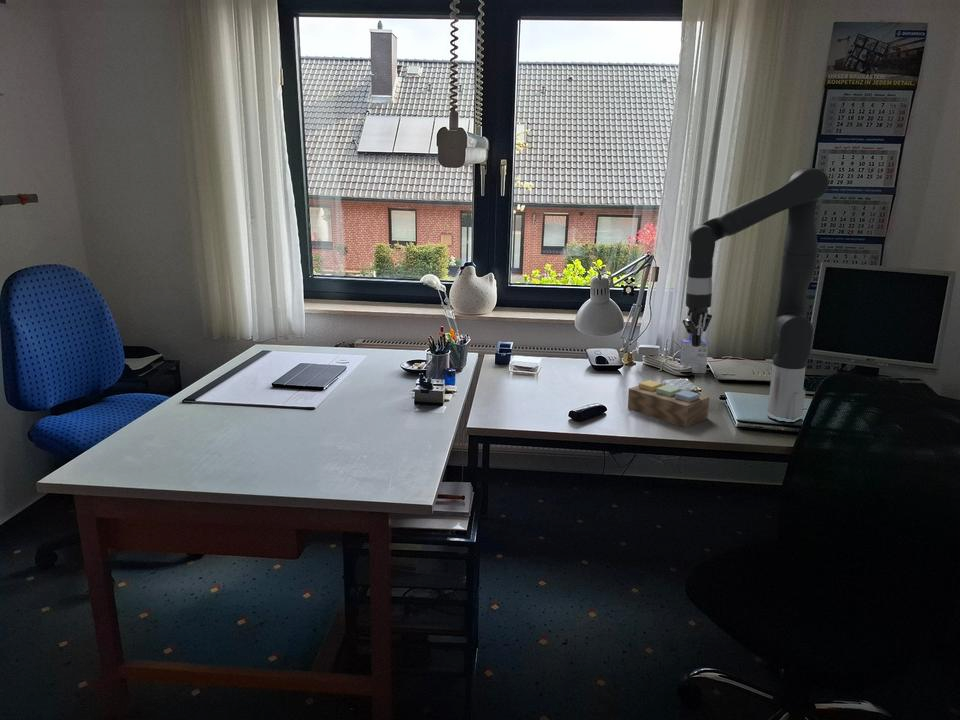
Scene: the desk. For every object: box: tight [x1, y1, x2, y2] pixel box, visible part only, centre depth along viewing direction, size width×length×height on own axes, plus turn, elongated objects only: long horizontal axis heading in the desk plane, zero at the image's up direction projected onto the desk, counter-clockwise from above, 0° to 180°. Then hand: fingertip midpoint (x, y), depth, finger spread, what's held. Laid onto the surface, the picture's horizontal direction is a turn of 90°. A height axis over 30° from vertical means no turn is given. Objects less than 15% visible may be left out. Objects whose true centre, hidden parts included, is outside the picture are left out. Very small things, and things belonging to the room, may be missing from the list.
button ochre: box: [638, 379, 663, 391], centre depth 217 cm, size 5×5×7 cm
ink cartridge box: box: [679, 333, 709, 374], centre depth 255 cm, size 10×6×14 cm, turn 78°
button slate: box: [675, 389, 700, 402], centre depth 206 cm, size 5×5×7 cm
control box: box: [627, 383, 710, 428], centre depth 212 cm, size 22×12×7 cm, turn 38°
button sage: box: [656, 384, 681, 396], centre depth 212 cm, size 5×5×7 cm
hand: (696, 346), depth 207 cm, fingers closed
